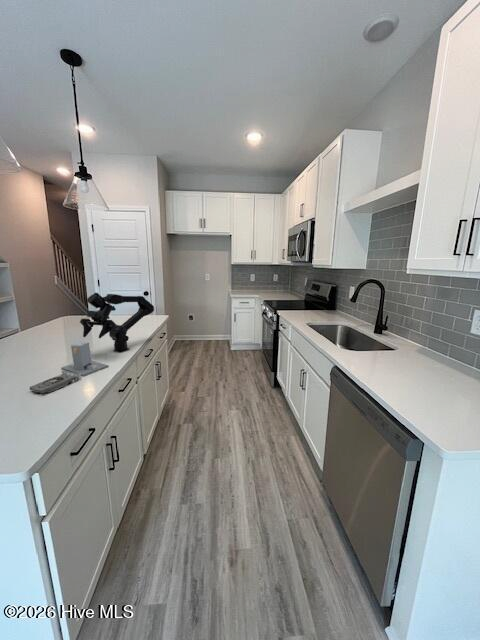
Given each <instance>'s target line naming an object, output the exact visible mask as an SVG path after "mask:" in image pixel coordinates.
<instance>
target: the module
mask: <svg viewBox="0 0 480 640" xmlns="http://www.w3.org/2000/svg"><path fill="white" fill-rule="evenodd" d="M70 347H71V348H70V349H71V353H72V363H74V369H75V370H82V371H84V366H85V365H92V362H91V360H92V356H91V349H90V347H91V346H90V342H84V341H79V342H77V343H74V344H71V345H70Z"/></svg>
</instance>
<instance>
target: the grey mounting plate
mask: <svg viewBox="0 0 480 640" xmlns="http://www.w3.org/2000/svg"><path fill="white" fill-rule="evenodd" d="M91 362H92V365H85V366H84V371H82V370H75V369H74V362H72V363H70V364H69V365H65V366H61V367H60V369H61V371H68V372H73V373H77V374H81V375H80V376H81V377H86V376H88V375H91V374H95V373H97V372H99V370H100V371H102V370H106V369H108V368H109V364H105V363H102V362H98V361H94V360H92V359H91Z"/></svg>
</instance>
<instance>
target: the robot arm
mask: <svg viewBox="0 0 480 640" xmlns="http://www.w3.org/2000/svg"><path fill="white" fill-rule="evenodd" d="M86 303H88V304H90V305H91V306H93V307H94V308H95V309H98V310H96V311H95V310H87V314H86V317H87V318H85V317H84V318H81V319H80V321H79V323H80V324H81V325H82V327H83V334H82V337H83V338H87V336H88V335H89V333H90V332H91V331H92V330H93V327H94V326H101V327H102V328H101V330H100V332H99V335H98V339H101V338H102V337H104V336H106V334H109V338H111V340H112V341H113V343H114V344H113V348H114V349H113V351H114V352H118V353H124V352H126V351H128V350H130V348H129V347H128V342H127V341H129V339H130V338H129V336H128V335H127V334H128V331H129V330H130V329H131V328H133V326H135V325H136V324H137V323H138V322H139V321H140V320H142V319H143V318H144V317H146V316H149V315H151V314H152V313H153V312H154V311H155V307H154V305H153V304H152V303H151V302H149V301H148V300H147V299H146V298H145V296H143V295H142V296H141V295H120V294H114V293H107V294H106V296H101V295H100V294H99V292H94V293H92V294H91V295H90V296H88V298H87V300H86ZM123 303H137V306H138V311H136V313H134V314H133V315H132V316H131V317H129V318H128V319H127V320H125V322H123V323H122V324H116V322H114V321H113V320H112V319H110V314H111V312H112V311H114V312H115V311H116V307H115V305H120V304H123ZM90 318H91V320H90Z"/></svg>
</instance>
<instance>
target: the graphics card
mask: <svg viewBox="0 0 480 640" xmlns="http://www.w3.org/2000/svg"><path fill="white" fill-rule="evenodd" d="M80 375H81V374H77V373H73V372H68V371H65V370H61V374H59V375H56V376H53V377H52V378H48V379H47V380H43V381H41V382H39V383H36V384H34V385H31V386H29V391H33V392H34V393H40V394H43V393H51V392H53V391H55V390H58V389H60V388H62V387H65V386H68V385H69V386H70V385H73V384H76V383H78V382H80V381H81V380H83V379H82V376H80ZM69 383H70V384H69Z"/></svg>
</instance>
